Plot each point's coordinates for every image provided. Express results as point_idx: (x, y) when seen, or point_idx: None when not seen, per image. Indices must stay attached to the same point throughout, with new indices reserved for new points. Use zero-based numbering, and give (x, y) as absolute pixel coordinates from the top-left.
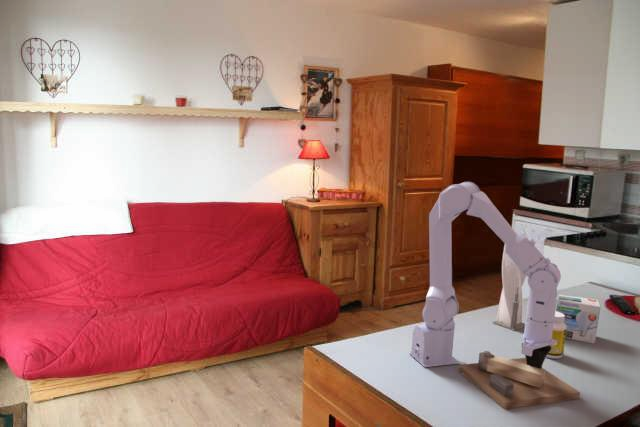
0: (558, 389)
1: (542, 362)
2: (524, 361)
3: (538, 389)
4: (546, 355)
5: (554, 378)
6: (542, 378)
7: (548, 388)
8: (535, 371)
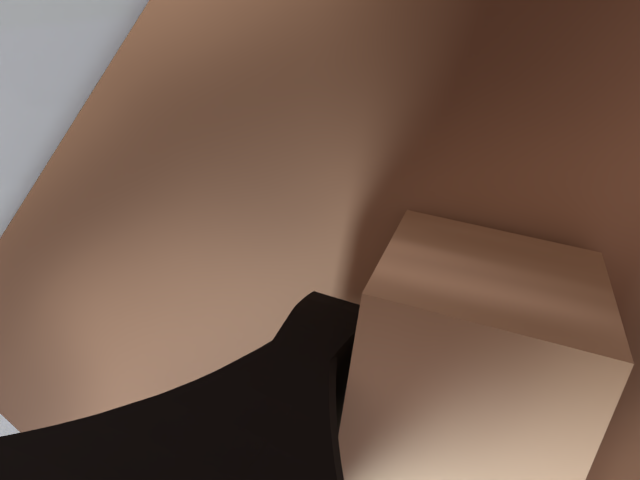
0: (461, 6)
1: (282, 417)
2: (13, 370)
3: (610, 262)
4: (119, 457)
5: (163, 85)
6: (522, 286)
7: (507, 141)
8: (510, 445)
